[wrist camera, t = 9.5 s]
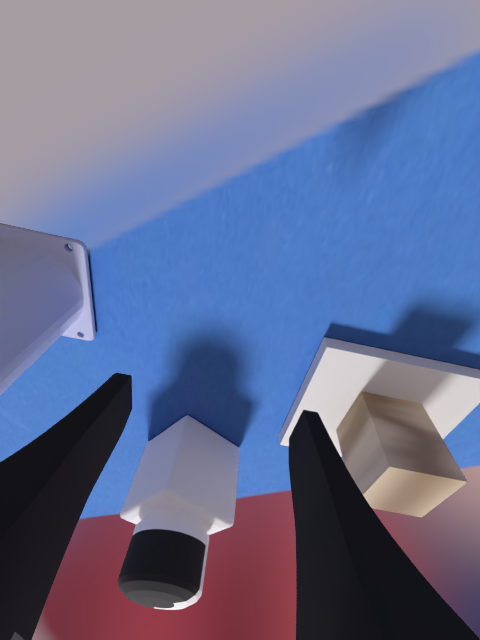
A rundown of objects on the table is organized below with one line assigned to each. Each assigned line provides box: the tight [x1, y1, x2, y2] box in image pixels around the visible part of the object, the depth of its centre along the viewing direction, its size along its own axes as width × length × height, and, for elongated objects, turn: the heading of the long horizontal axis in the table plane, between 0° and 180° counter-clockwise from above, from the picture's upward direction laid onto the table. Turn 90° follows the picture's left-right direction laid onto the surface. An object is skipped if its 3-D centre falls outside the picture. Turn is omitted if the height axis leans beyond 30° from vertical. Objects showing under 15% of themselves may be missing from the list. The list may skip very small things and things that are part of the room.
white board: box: [279, 337, 480, 456], centre depth 24 cm, size 13×12×1 cm
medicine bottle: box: [118, 415, 240, 610], centre depth 25 cm, size 7×7×12 cm
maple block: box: [336, 391, 467, 517], centre depth 21 cm, size 5×5×6 cm
